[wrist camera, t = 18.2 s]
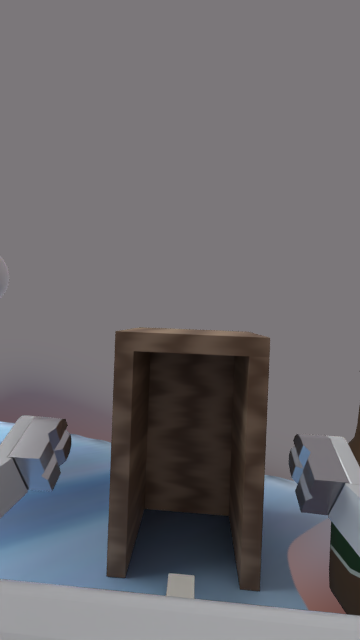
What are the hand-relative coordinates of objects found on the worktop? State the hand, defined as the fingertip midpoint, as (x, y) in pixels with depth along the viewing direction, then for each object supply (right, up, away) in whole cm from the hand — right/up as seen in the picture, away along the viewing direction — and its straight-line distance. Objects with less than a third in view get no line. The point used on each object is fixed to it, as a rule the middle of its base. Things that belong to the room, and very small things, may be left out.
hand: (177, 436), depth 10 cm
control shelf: (+1, -23, +26) cm, 35 cm away
